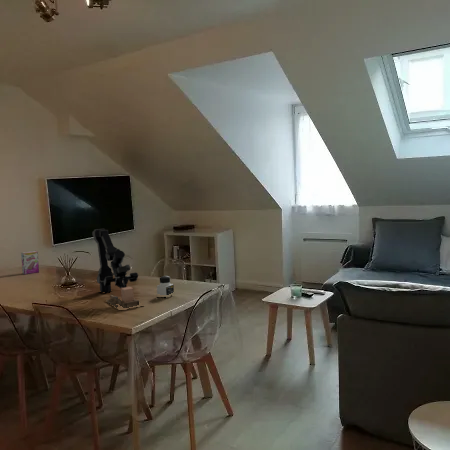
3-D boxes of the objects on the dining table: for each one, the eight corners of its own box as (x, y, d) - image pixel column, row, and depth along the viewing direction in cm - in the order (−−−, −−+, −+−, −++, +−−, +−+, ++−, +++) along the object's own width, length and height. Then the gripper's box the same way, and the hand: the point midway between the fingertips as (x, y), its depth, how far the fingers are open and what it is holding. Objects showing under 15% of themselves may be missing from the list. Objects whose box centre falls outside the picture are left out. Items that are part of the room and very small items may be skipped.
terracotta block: (122, 304, 252) (121, 288, 251) (130, 302, 255) (129, 286, 254) (125, 306, 248) (124, 289, 247) (134, 304, 250) (133, 288, 249)
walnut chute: (105, 301, 262) (105, 294, 262) (128, 297, 270) (128, 290, 269) (119, 311, 242) (119, 304, 242) (144, 306, 250) (144, 299, 249)
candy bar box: (24, 274, 345) (22, 253, 343) (22, 273, 349) (20, 252, 347) (39, 272, 352) (37, 251, 350) (37, 271, 356) (35, 250, 354)
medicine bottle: (166, 298, 264) (165, 278, 262) (157, 297, 267) (156, 277, 266) (174, 295, 270) (173, 275, 268) (164, 294, 274) (163, 274, 272)
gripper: (103, 262, 250) (111, 286, 242) (136, 258, 260) (144, 280, 252) (100, 274, 258) (108, 297, 250) (132, 269, 268) (140, 291, 260)
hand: (125, 291), depth 253 cm, fingers closed, pressing on terracotta block
